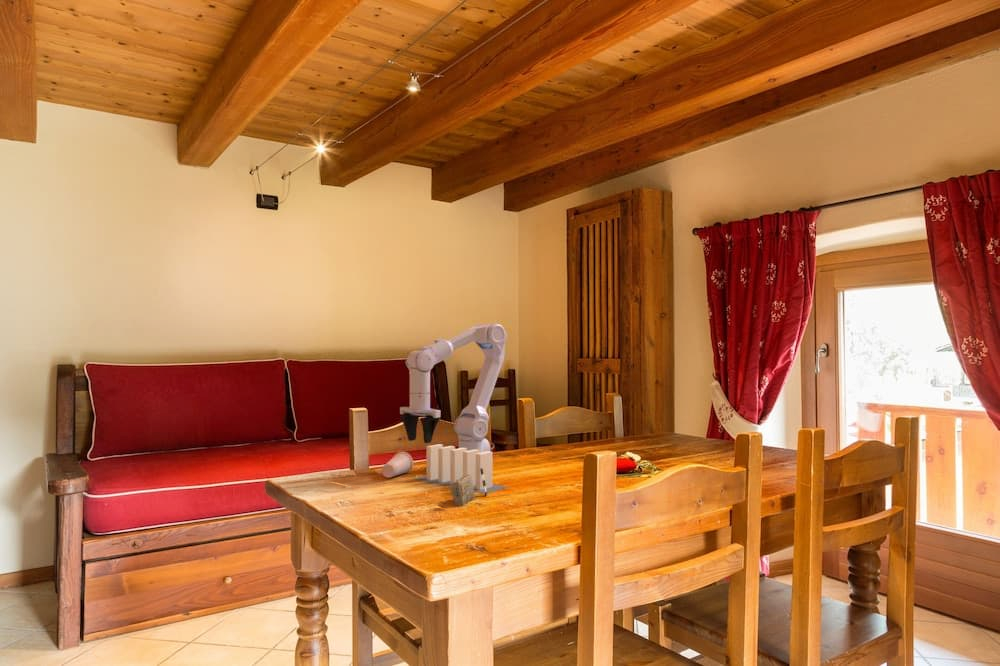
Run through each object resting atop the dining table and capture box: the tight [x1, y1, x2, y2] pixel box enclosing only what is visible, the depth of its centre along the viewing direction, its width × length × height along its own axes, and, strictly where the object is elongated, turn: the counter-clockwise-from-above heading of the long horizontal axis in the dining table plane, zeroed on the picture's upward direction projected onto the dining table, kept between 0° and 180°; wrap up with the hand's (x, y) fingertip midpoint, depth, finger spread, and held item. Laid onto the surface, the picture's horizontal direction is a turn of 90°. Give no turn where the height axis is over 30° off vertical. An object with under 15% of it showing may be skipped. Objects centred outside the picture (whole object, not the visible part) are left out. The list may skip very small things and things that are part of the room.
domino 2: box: [438, 445, 456, 482], centre depth 172 cm, size 2×5×9 cm, turn 141°
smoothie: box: [381, 451, 414, 479], centre depth 181 cm, size 6×6×14 cm
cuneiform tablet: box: [450, 468, 488, 507], centre depth 152 cm, size 7×4×12 cm
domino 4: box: [463, 449, 480, 486], centre depth 167 cm, size 2×5×9 cm, turn 140°
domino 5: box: [476, 450, 494, 490], centre depth 164 cm, size 2×5×9 cm, turn 140°
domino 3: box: [450, 447, 467, 484], centre depth 170 cm, size 2×5×9 cm, turn 140°
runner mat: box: [411, 475, 508, 495], centre depth 170 cm, size 10×26×1 cm, turn 50°
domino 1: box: [425, 443, 444, 480], centre depth 175 cm, size 2×5×9 cm, turn 141°
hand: (419, 441), depth 179 cm, fingers open, 6 cm apart
